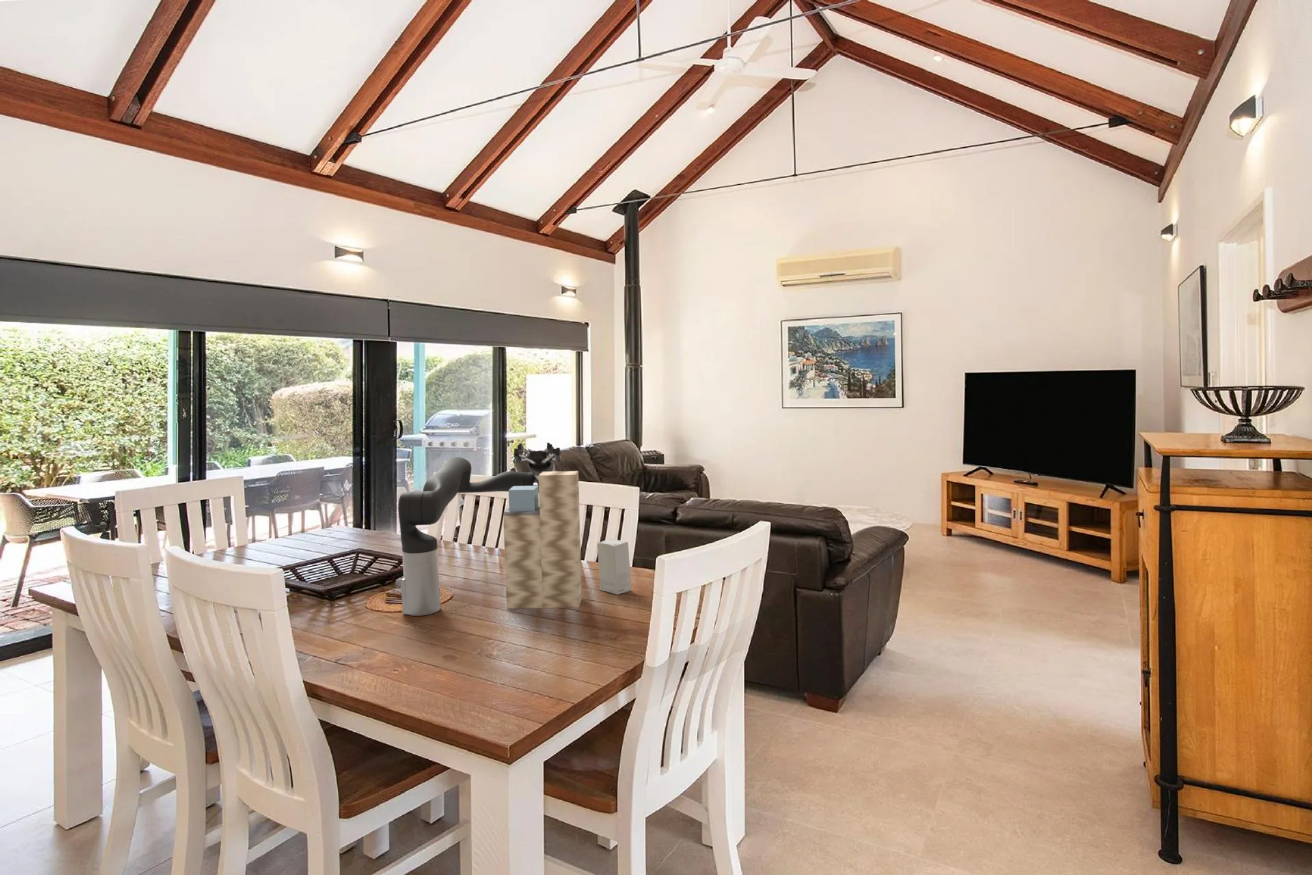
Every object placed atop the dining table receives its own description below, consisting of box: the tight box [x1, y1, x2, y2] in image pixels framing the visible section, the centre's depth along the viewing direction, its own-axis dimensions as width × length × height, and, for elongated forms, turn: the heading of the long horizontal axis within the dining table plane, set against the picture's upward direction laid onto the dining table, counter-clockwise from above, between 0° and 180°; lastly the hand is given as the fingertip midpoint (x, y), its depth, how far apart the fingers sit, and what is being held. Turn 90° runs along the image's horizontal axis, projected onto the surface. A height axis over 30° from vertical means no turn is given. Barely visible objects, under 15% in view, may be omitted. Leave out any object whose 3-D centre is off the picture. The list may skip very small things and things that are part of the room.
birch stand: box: [502, 470, 583, 610], centre depth 203 cm, size 20×8×37 cm, turn 90°
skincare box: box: [596, 538, 632, 595], centre depth 216 cm, size 8×6×15 cm
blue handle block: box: [508, 485, 540, 512], centre depth 208 cm, size 7×16×6 cm, turn 0°
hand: (534, 445), depth 221 cm, fingers open, 8 cm apart
